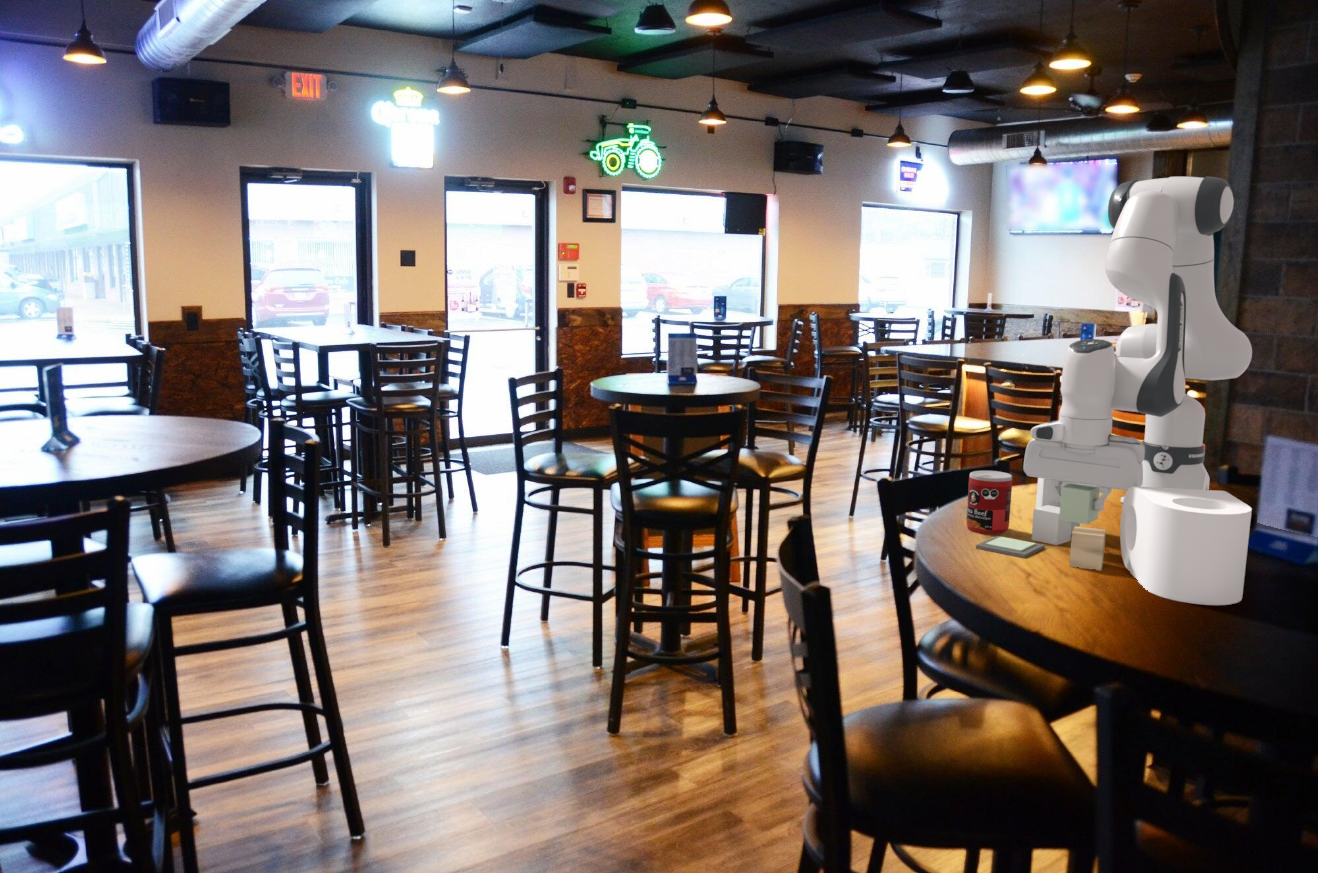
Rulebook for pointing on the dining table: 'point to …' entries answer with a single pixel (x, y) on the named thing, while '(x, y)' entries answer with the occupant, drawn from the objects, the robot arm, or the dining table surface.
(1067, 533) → the grey block
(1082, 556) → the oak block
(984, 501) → the canned food
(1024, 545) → the swatch
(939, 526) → the dining table surface
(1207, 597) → the white cross-bored block
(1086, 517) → the sage block
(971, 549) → the dining table surface
